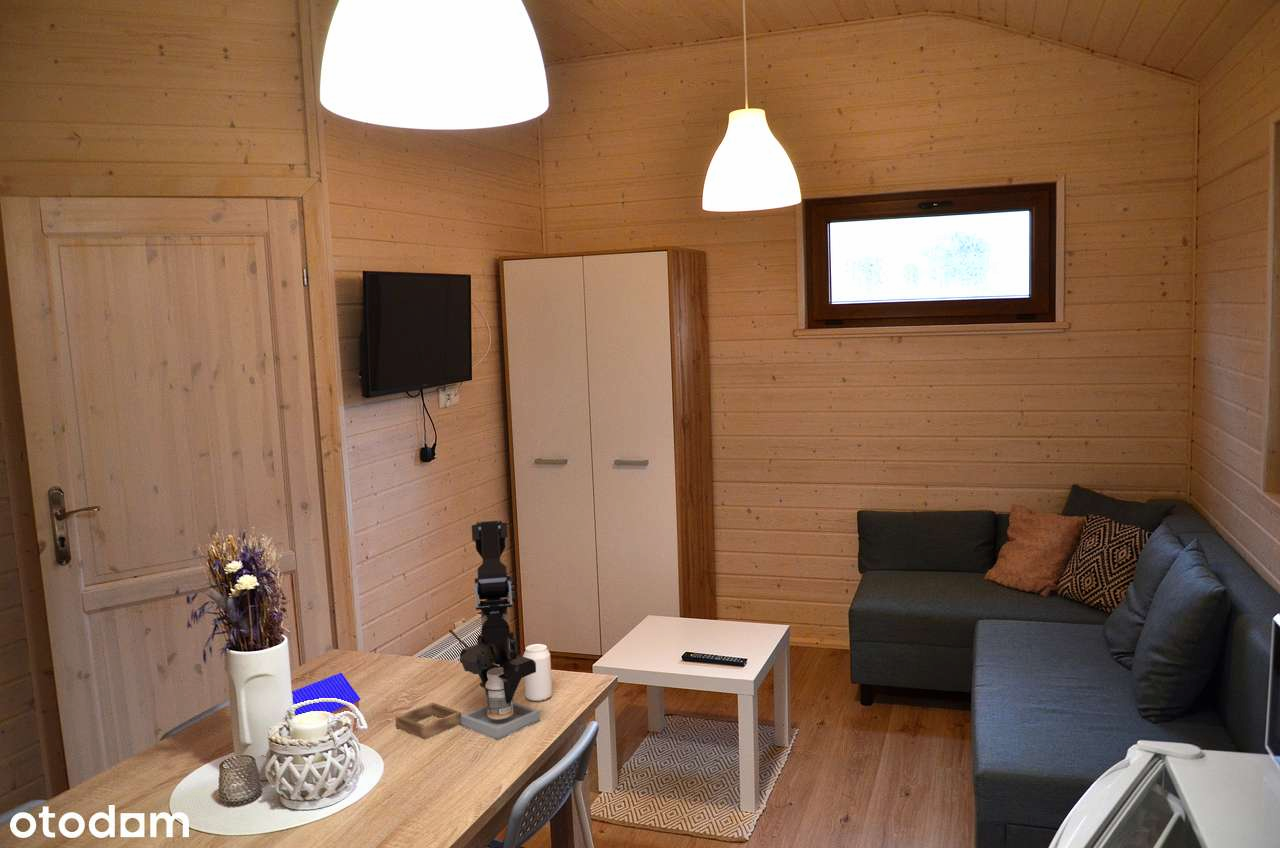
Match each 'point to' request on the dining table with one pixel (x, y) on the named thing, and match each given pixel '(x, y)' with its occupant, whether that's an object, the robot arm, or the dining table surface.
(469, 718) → the tray
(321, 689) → the blue ribbed roof
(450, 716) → the socket collar
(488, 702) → the pill bottle
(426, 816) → the dining table surface
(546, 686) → the beverage can
